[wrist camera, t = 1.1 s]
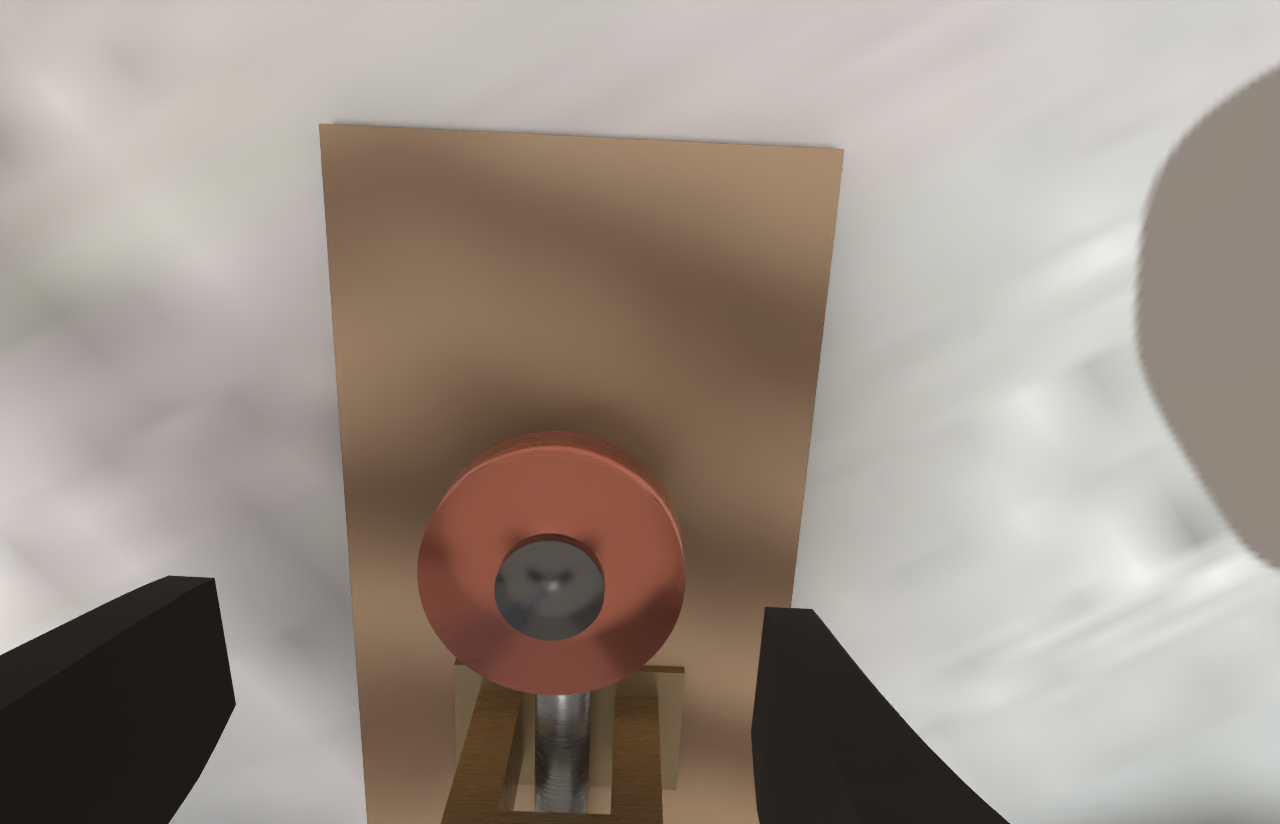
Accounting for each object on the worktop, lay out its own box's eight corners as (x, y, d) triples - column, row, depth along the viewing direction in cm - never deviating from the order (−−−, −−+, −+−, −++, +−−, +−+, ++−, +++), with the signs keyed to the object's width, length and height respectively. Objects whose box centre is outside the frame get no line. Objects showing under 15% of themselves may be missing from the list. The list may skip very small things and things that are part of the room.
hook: (647, 886, 24) (650, 1089, 19) (477, 881, 24) (433, 1083, 19) (680, 386, 19) (696, 470, 14) (468, 376, 19) (405, 458, 14)
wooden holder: (675, 782, 24) (686, 962, 19) (459, 775, 24) (408, 953, 19) (684, 667, 23) (698, 823, 17) (456, 658, 23) (400, 813, 17)
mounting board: (759, 818, 25) (763, 839, 25) (375, 805, 25) (367, 825, 24) (835, 149, 19) (844, 149, 19) (331, 124, 19) (318, 123, 18)
